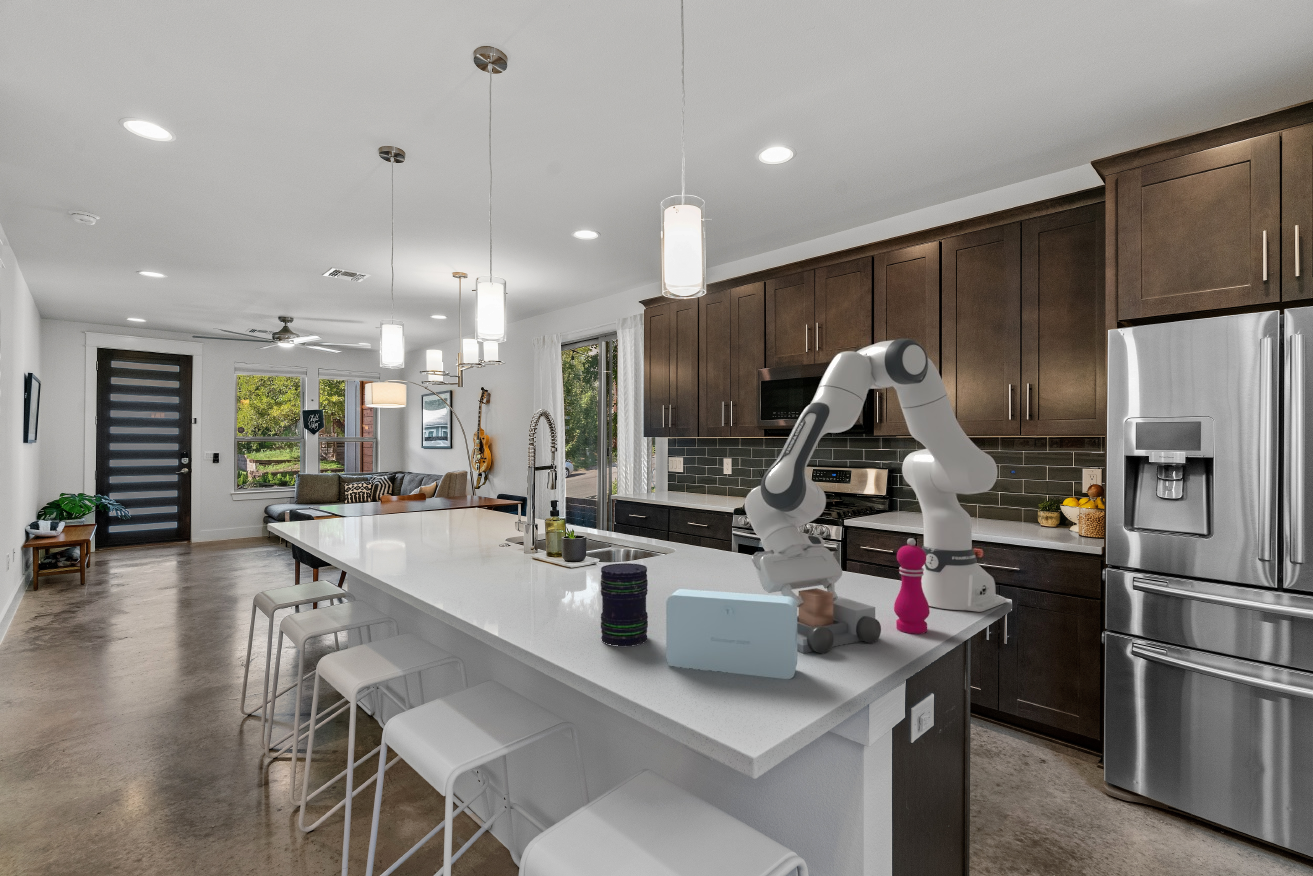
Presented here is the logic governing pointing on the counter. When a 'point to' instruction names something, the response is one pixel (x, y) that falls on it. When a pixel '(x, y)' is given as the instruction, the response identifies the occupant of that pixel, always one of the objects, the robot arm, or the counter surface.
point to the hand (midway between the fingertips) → (816, 603)
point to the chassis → (840, 627)
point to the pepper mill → (911, 590)
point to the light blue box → (732, 632)
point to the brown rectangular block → (816, 607)
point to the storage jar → (624, 604)
